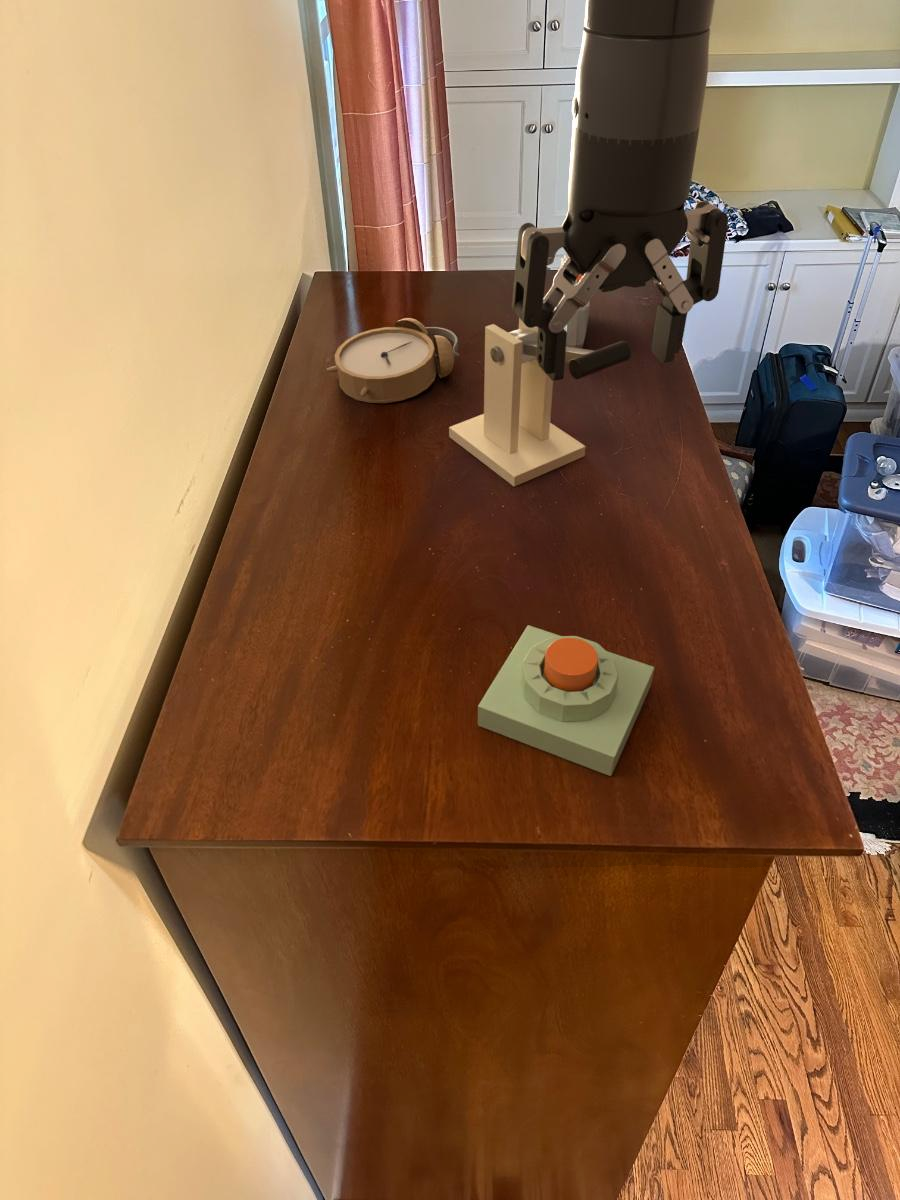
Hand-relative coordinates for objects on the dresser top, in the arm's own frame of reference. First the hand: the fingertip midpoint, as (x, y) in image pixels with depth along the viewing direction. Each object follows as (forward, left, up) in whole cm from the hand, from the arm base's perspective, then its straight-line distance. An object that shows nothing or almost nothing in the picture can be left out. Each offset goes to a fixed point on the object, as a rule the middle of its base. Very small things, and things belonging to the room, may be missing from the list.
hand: (608, 366), depth 62 cm
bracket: (+13, -14, -18) cm, 26 cm away
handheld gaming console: (+17, -40, -19) cm, 47 cm away
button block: (-4, +16, -18) cm, 25 cm away
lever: (+8, -11, -7) cm, 15 cm away
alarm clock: (+31, -22, -19) cm, 42 cm away
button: (-4, +16, -15) cm, 22 cm away
